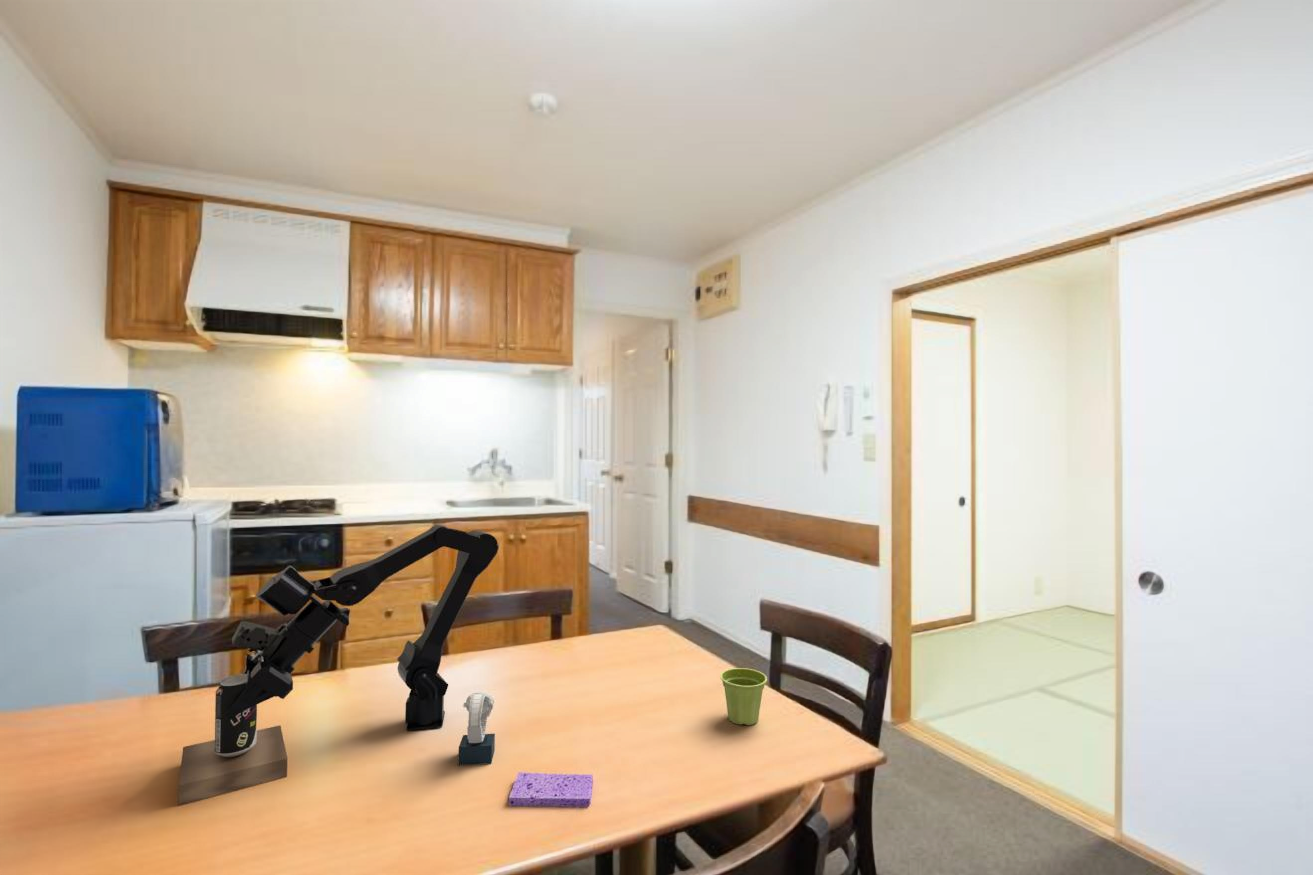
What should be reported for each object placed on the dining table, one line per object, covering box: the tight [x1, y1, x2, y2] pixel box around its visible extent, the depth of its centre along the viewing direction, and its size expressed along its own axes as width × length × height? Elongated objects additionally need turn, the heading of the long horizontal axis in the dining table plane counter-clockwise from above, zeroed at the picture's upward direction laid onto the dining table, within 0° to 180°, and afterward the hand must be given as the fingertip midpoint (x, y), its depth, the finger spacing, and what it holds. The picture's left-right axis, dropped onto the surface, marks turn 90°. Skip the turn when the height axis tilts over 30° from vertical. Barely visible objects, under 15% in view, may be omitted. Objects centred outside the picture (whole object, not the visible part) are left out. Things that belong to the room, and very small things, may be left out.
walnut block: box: [177, 724, 288, 807], centre depth 100 cm, size 14×14×3 cm
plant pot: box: [719, 667, 768, 726], centre depth 122 cm, size 9×9×9 cm
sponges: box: [508, 771, 594, 808], centre depth 95 cm, size 7×13×2 cm, turn 91°
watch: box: [457, 691, 496, 766], centre depth 105 cm, size 6×8×11 cm
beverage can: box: [214, 673, 258, 757], centre depth 100 cm, size 6×6×12 cm
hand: (226, 709), depth 99 cm, fingers closed on beverage can, 5 cm apart
